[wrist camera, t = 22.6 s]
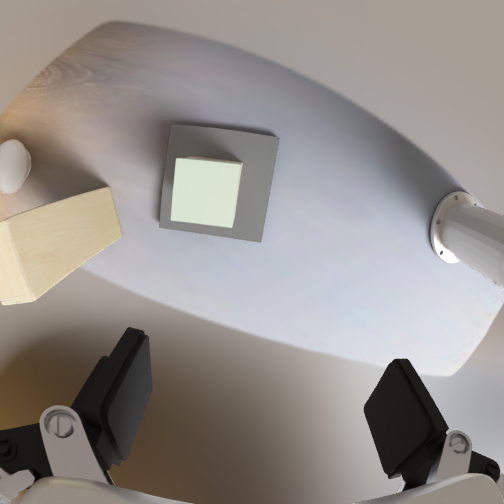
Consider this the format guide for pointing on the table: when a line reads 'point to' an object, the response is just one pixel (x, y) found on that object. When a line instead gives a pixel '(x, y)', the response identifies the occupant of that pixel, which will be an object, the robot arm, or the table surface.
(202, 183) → the sage block
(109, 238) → the toy refrigerator
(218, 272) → the table surface
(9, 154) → the flower vase
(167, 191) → the base plate
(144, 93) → the table surface
